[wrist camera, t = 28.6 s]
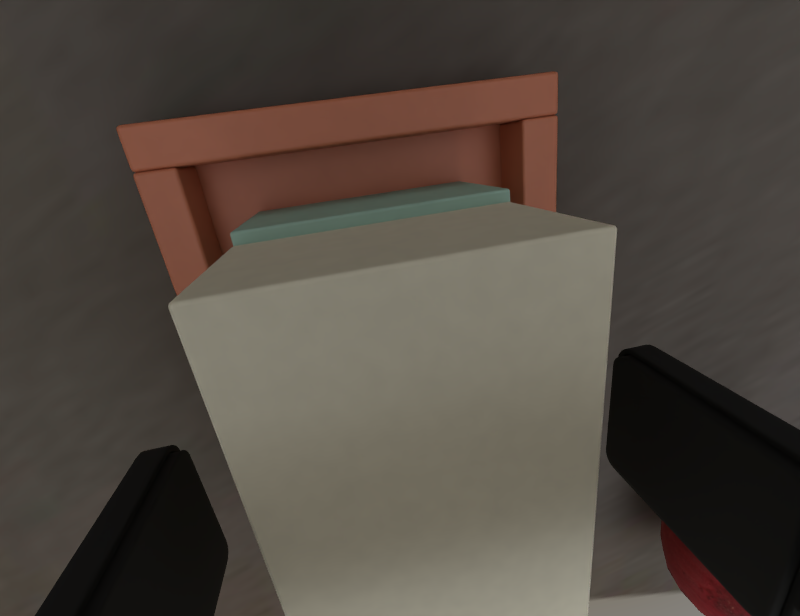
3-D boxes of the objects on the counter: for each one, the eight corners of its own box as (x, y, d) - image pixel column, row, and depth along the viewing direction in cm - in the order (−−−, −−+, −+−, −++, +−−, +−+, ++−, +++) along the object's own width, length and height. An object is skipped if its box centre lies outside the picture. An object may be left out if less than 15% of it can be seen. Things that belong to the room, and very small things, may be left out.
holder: (152, 131, 10) (113, 125, 9) (521, 85, 12) (559, 69, 10) (285, 529, 16) (279, 579, 14) (526, 470, 17) (551, 510, 15)
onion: (607, 538, 20) (774, 762, 12) (640, 444, 18) (859, 645, 10) (704, 527, 21) (910, 728, 13) (744, 438, 19) (1011, 615, 12)
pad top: (231, 245, 8) (164, 303, 5) (510, 200, 9) (619, 225, 5) (328, 574, 12) (328, 733, 8) (518, 525, 12) (586, 655, 9)
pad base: (257, 211, 11) (228, 232, 8) (460, 180, 12) (511, 188, 8) (327, 479, 15) (327, 568, 12) (479, 444, 15) (518, 519, 12)
